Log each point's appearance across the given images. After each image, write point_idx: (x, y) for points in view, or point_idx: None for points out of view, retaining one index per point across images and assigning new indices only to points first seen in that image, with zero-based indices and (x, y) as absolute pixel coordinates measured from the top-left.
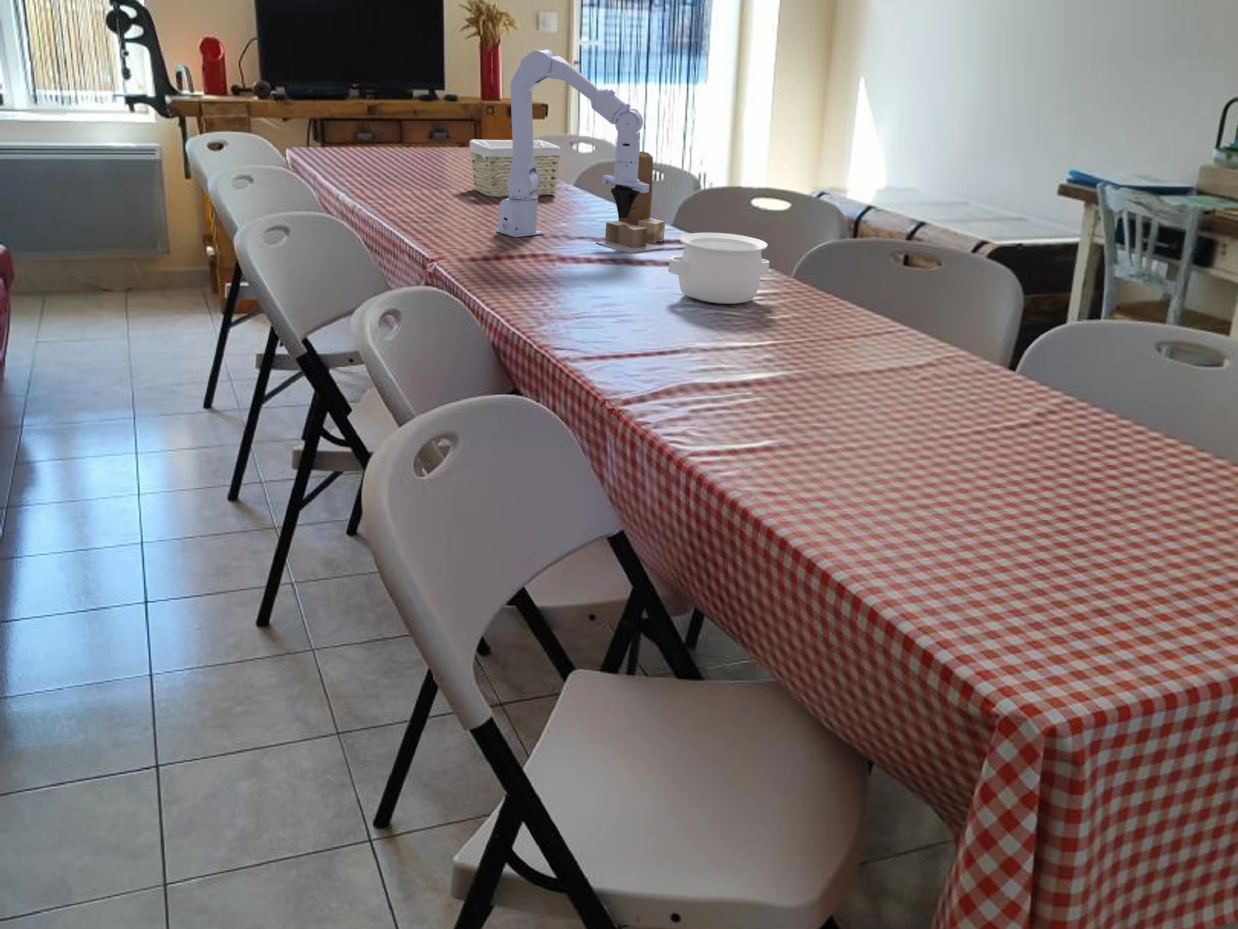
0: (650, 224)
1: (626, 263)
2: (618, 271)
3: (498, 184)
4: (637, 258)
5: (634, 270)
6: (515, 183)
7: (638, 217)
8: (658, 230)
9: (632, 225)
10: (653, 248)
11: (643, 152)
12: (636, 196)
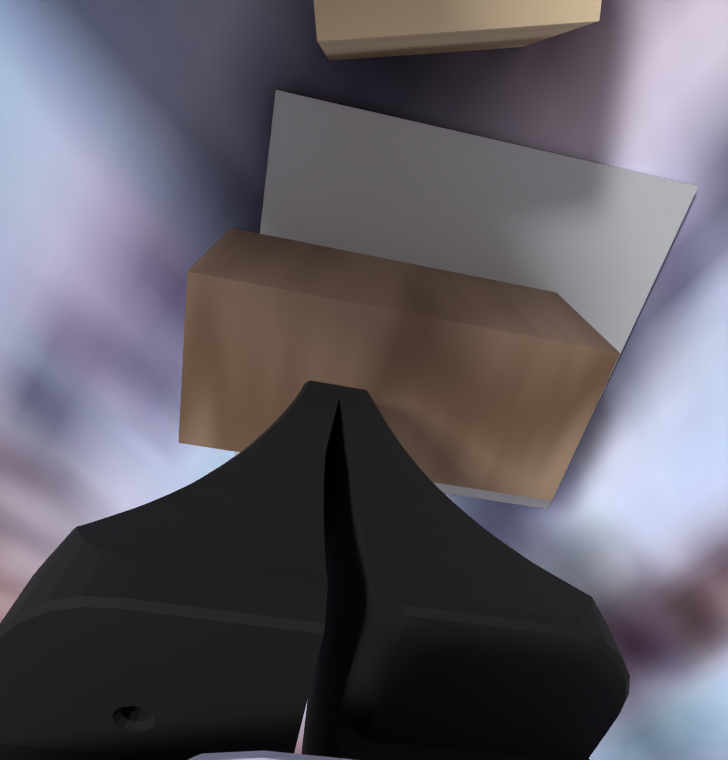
0: (511, 28)
1: (634, 661)
2: (662, 757)
3: None
4: (638, 561)
5: (715, 715)
6: None
7: None
8: None
9: (436, 360)
10: (633, 303)
11: None
12: (523, 561)
